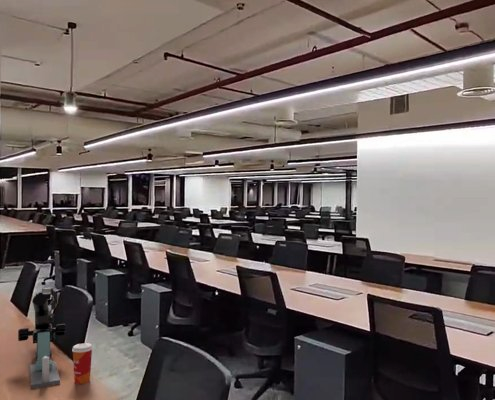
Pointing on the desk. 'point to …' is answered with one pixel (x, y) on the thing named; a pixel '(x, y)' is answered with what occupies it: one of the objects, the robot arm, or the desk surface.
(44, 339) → the teal upright block
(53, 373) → the track
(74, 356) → the paper cup
